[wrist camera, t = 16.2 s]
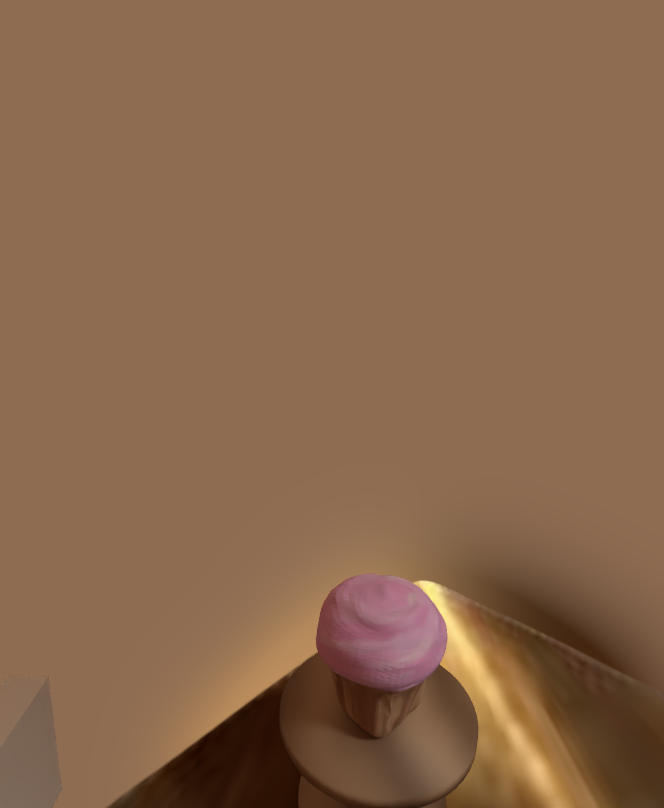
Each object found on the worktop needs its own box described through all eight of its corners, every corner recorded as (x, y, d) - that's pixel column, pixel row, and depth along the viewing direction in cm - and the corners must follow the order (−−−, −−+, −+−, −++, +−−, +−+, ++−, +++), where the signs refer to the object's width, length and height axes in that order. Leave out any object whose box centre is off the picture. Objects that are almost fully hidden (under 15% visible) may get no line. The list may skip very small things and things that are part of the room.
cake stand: (413, 714, 53) (421, 629, 50) (503, 869, 40) (520, 766, 38) (260, 751, 48) (261, 660, 46) (307, 938, 36) (311, 827, 33)
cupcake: (390, 787, 36) (402, 650, 33) (288, 713, 41) (290, 589, 38) (459, 704, 42) (474, 583, 40) (363, 648, 48) (370, 539, 45)
